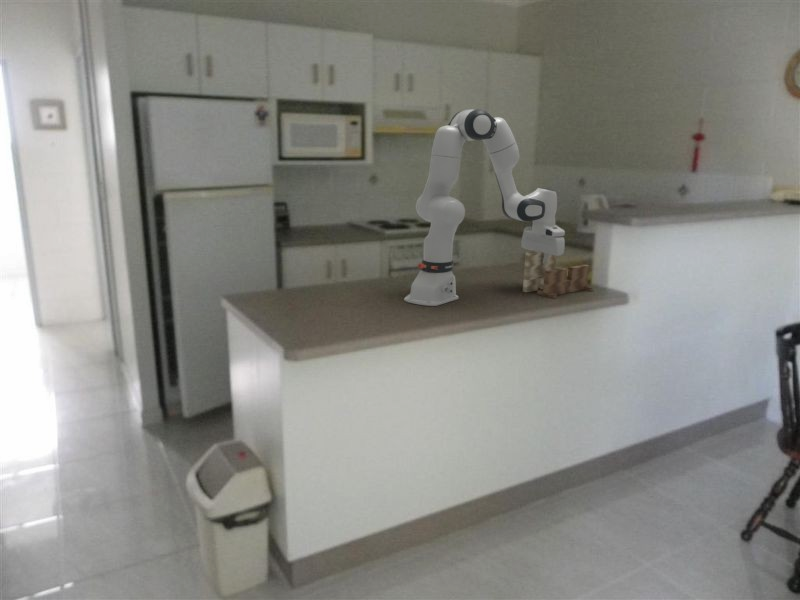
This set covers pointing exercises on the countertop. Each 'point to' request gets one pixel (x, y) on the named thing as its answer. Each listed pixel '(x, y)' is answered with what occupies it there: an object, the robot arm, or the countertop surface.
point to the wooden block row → (565, 281)
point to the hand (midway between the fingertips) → (540, 262)
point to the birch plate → (536, 270)
